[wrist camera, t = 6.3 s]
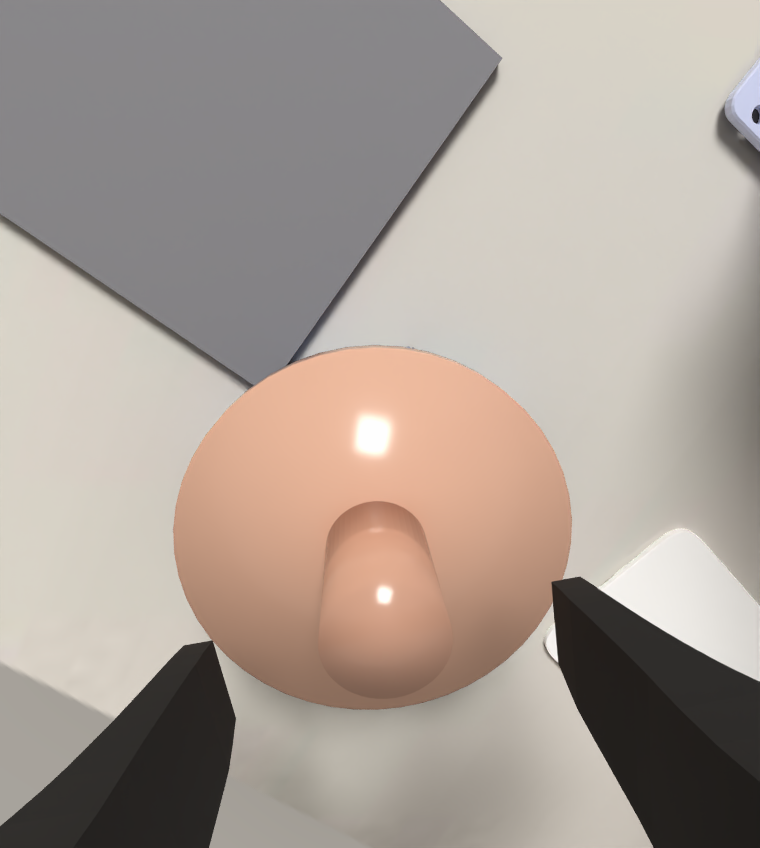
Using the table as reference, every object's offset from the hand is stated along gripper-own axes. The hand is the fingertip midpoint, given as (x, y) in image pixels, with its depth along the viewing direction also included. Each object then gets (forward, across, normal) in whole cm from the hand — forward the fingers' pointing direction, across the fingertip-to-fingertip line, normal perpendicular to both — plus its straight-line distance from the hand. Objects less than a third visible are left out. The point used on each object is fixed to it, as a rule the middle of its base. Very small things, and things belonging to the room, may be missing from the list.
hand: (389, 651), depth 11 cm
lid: (+5, 0, 0) cm, 5 cm away
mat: (+8, +3, -13) cm, 15 cm away
